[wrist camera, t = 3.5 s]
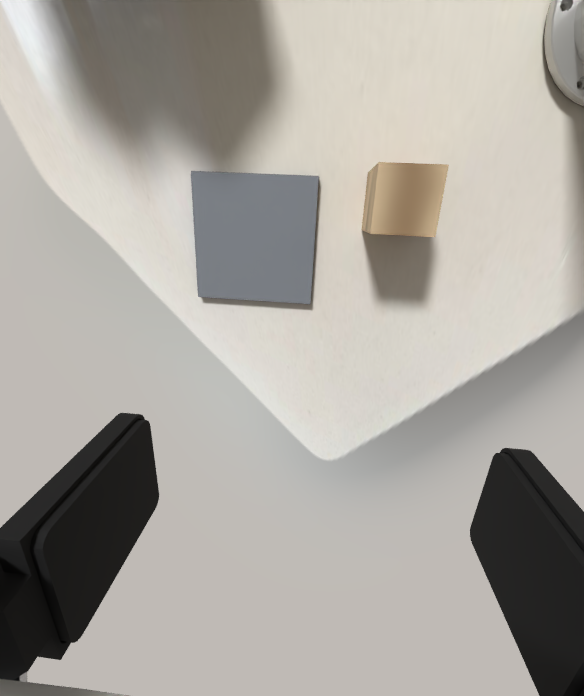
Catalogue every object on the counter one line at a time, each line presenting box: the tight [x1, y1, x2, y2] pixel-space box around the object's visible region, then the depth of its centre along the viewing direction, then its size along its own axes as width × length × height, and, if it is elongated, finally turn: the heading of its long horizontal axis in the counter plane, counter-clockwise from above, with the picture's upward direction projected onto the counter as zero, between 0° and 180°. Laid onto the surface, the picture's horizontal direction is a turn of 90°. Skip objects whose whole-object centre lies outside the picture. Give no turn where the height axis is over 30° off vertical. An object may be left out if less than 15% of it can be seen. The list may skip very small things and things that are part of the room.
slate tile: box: [191, 171, 319, 304], centre depth 34 cm, size 12×12×1 cm
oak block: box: [362, 162, 449, 237], centre depth 29 cm, size 5×5×7 cm
